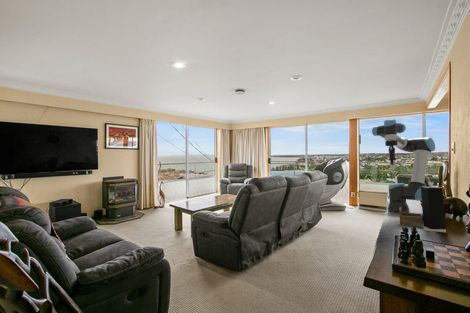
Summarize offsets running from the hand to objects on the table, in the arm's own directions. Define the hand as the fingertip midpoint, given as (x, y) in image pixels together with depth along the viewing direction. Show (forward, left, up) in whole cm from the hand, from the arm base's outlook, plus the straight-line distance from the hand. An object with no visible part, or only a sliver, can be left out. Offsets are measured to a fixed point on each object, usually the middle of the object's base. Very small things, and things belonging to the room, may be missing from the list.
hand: (393, 169), depth 176 cm
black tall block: (+21, +20, -36) cm, 46 cm away
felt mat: (+21, +20, -37) cm, 47 cm away
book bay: (+11, +9, -37) cm, 39 cm away
